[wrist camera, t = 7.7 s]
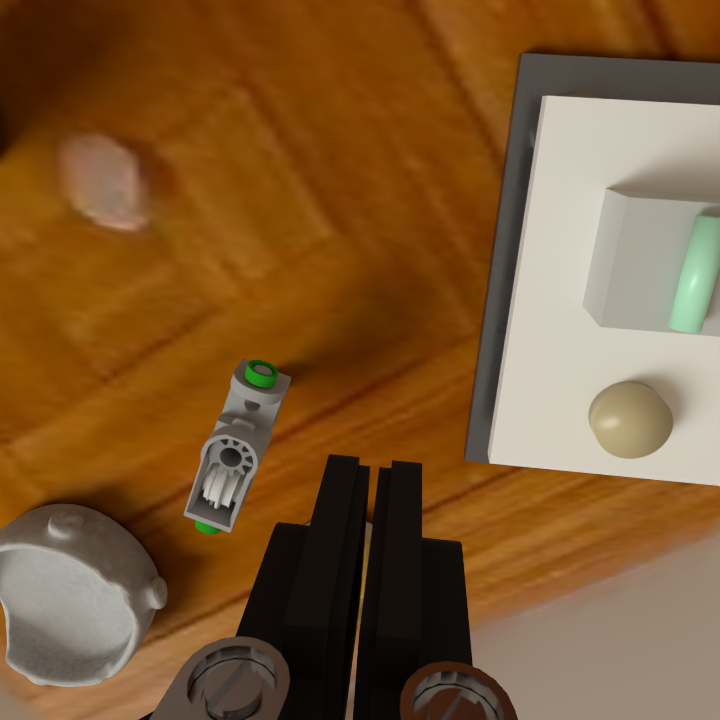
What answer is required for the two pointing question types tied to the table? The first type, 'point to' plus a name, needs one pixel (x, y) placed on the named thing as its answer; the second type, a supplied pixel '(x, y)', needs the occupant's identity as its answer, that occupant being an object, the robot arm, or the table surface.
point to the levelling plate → (555, 284)
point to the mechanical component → (236, 446)
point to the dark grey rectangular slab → (531, 84)
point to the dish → (74, 595)
